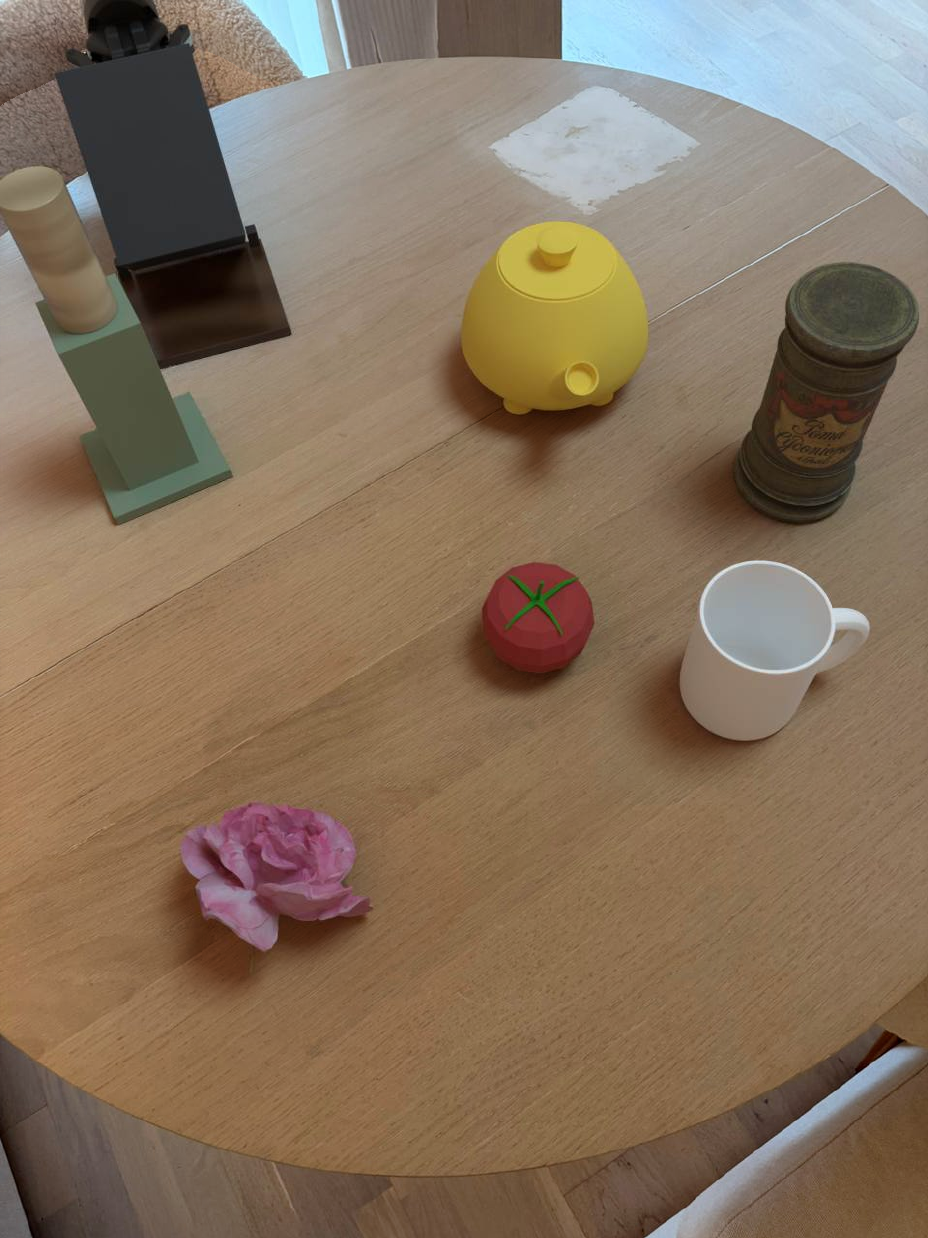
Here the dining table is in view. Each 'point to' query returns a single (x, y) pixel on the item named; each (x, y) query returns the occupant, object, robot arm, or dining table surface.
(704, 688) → the mug
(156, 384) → the pedestal
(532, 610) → the tomato
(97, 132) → the bin
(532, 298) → the teapot
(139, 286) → the bin stand
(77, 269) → the cylinder
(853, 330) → the container
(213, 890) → the flower
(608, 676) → the dining table surface
